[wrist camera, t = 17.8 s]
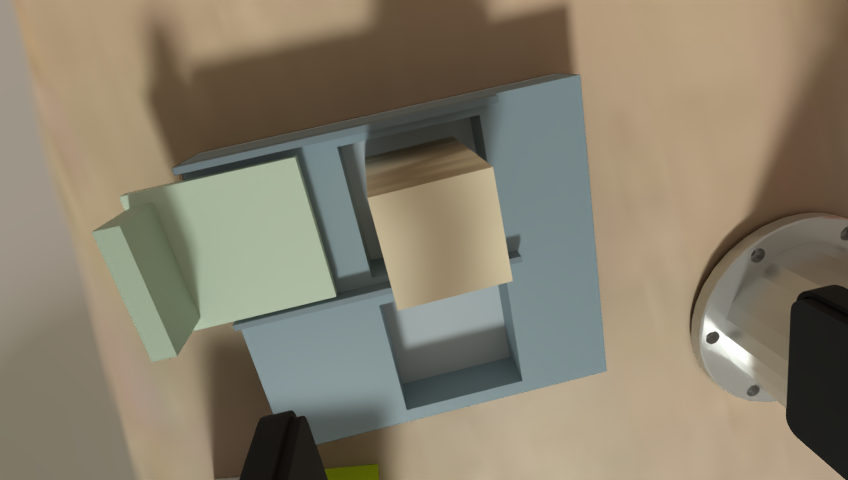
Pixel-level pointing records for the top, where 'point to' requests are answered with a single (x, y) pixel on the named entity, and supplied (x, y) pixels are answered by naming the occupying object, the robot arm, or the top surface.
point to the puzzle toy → (346, 473)
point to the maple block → (437, 221)
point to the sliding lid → (215, 251)
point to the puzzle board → (447, 318)
